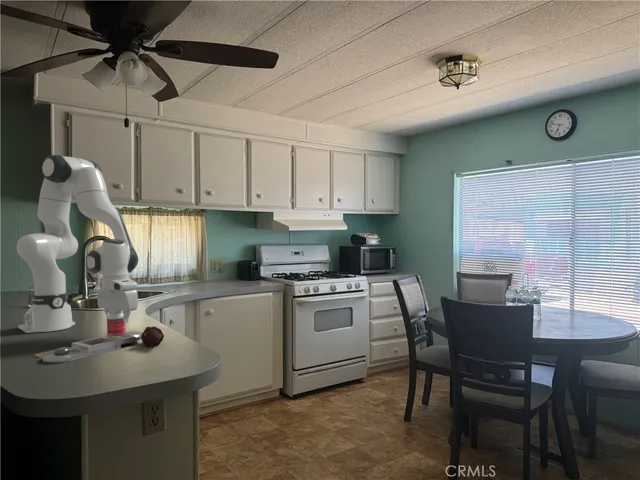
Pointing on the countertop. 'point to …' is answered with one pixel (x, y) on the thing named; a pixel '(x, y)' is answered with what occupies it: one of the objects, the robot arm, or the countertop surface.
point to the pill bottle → (115, 322)
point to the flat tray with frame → (92, 347)
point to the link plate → (42, 354)
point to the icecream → (152, 336)
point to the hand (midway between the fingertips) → (117, 321)
